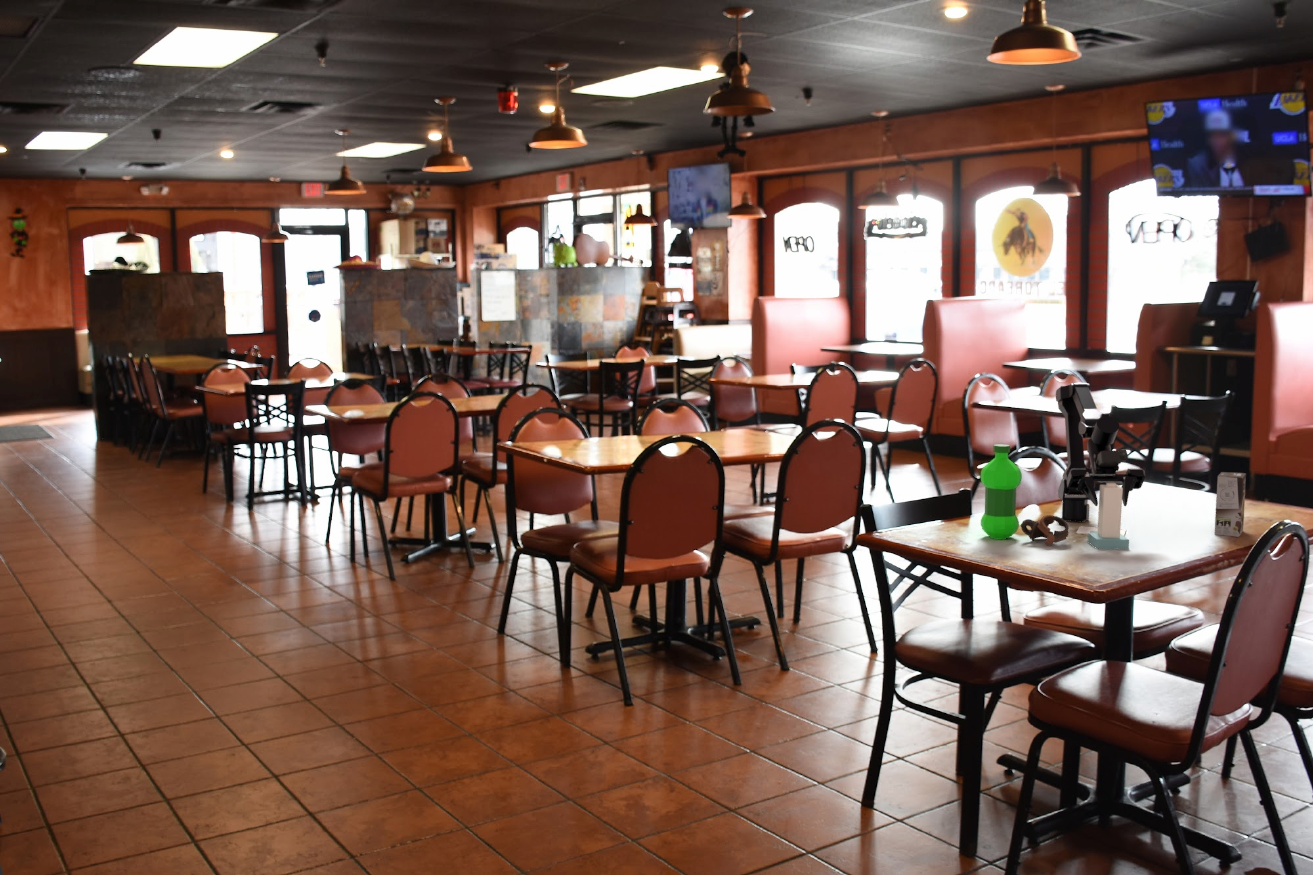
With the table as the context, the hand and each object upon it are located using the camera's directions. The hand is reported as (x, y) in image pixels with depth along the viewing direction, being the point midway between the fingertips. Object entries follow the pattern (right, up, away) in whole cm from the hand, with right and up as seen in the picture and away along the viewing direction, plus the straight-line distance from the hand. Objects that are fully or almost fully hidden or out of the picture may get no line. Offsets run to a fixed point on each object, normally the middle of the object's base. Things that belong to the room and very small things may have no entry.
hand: (1111, 505), depth 305 cm
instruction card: (+5, -8, +19) cm, 21 cm away
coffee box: (+38, -9, +16) cm, 42 cm away
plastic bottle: (-25, -10, +14) cm, 30 cm away
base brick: (0, -11, +3) cm, 11 cm away
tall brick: (0, -8, +2) cm, 8 cm away
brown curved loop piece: (-15, -11, +8) cm, 20 cm away
